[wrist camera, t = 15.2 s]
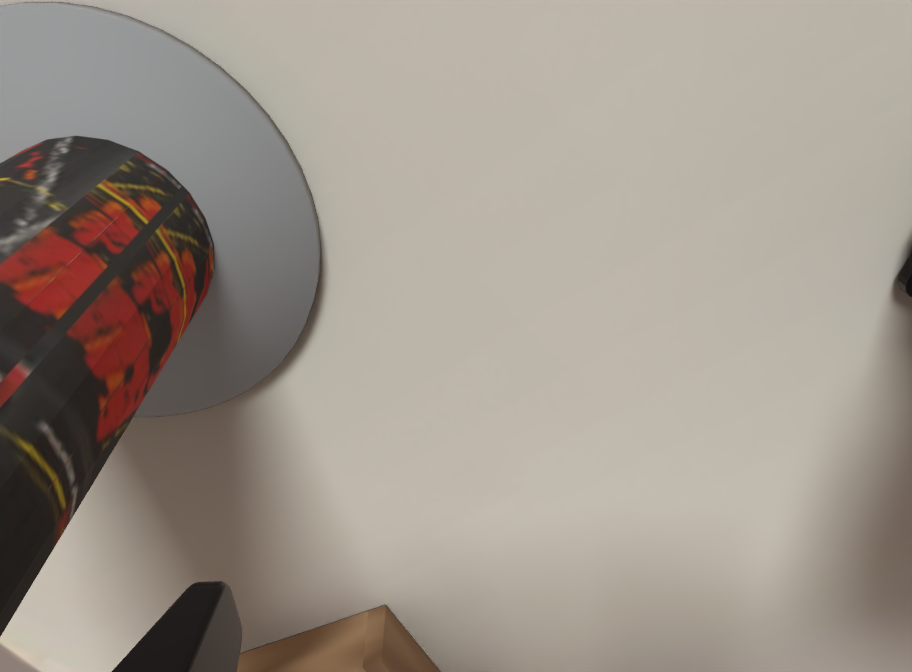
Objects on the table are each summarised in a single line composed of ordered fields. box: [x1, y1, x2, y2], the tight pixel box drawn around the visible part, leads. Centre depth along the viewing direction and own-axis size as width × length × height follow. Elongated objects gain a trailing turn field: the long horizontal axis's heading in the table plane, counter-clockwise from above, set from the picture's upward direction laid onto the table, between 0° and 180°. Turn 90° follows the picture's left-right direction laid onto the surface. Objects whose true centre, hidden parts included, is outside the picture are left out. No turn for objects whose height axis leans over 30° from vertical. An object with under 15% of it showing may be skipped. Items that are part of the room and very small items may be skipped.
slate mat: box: [0, 2, 321, 417], centre depth 20 cm, size 12×12×1 cm
